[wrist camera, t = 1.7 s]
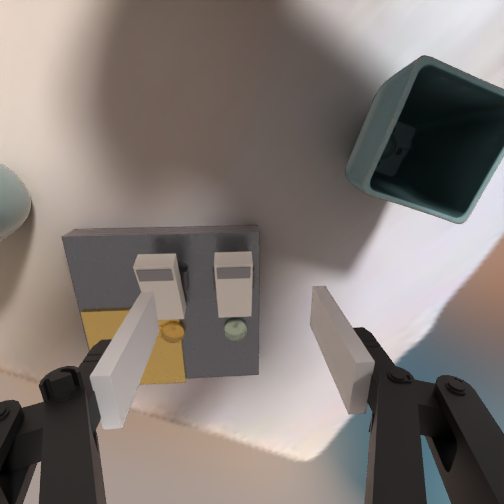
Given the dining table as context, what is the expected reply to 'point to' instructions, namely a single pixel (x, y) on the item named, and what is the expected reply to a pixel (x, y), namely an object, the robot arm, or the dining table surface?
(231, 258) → the rocker
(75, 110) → the dining table surface
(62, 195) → the dining table surface
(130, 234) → the panel
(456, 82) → the flower pot
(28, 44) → the dining table surface
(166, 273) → the rocker
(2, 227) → the cup
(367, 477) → the robot arm
